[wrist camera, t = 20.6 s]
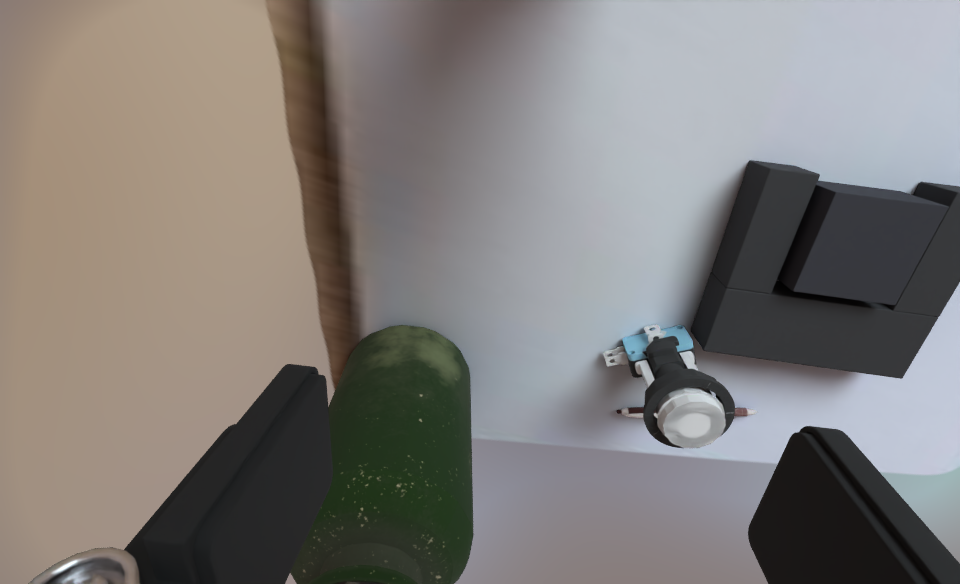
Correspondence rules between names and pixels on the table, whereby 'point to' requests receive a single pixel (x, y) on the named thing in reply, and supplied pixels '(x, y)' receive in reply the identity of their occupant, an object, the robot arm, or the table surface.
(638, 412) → the pen
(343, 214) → the table surface
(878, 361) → the black u-shaped block
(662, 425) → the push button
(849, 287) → the small black block
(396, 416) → the green bottle
